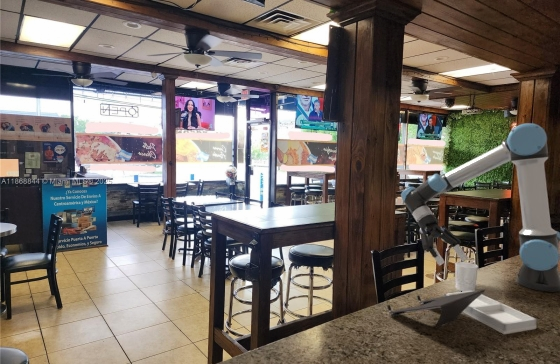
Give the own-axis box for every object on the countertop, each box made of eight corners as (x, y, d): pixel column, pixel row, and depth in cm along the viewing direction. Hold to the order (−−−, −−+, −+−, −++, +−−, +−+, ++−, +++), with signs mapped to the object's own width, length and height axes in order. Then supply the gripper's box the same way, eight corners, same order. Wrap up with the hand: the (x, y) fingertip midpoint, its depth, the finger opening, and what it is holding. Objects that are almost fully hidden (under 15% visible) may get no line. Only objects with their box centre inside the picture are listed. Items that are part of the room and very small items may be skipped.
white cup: (479, 294, 138) (480, 268, 137) (457, 292, 140) (458, 266, 139) (472, 286, 146) (474, 262, 145) (451, 285, 147) (452, 261, 147)
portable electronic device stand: (432, 320, 130) (423, 293, 132) (494, 313, 112) (482, 282, 114) (388, 337, 117) (379, 307, 120) (450, 332, 99) (437, 298, 102)
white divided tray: (472, 298, 134) (472, 290, 134) (536, 328, 111) (536, 319, 110) (444, 301, 130) (444, 293, 130) (503, 334, 107) (504, 324, 107)
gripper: (439, 221, 167) (467, 262, 154) (399, 225, 155) (425, 270, 143) (450, 211, 161) (480, 253, 149) (409, 215, 150) (437, 260, 138)
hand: (453, 261), depth 146 cm, fingers open, 13 cm apart
